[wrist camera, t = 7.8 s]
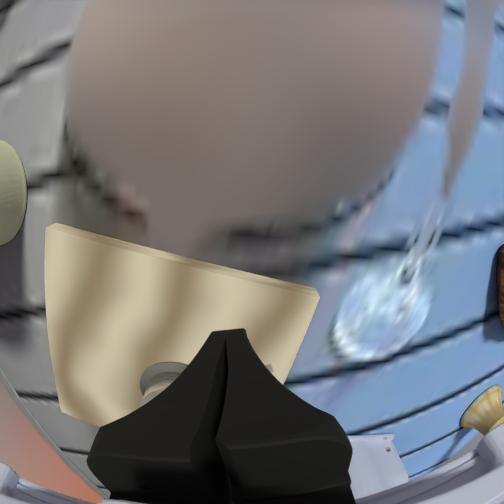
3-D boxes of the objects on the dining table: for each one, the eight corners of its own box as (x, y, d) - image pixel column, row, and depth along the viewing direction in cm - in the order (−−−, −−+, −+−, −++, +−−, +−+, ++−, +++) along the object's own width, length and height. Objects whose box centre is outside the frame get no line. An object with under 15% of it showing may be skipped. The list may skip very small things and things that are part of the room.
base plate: (314, 288, 21) (320, 298, 20) (244, 449, 27) (245, 461, 25) (56, 222, 19) (44, 227, 17) (66, 402, 24) (61, 412, 23)
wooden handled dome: (138, 372, 21) (127, 400, 18) (199, 369, 21) (195, 399, 18) (178, 451, 24) (174, 476, 21) (227, 450, 24) (227, 475, 21)
